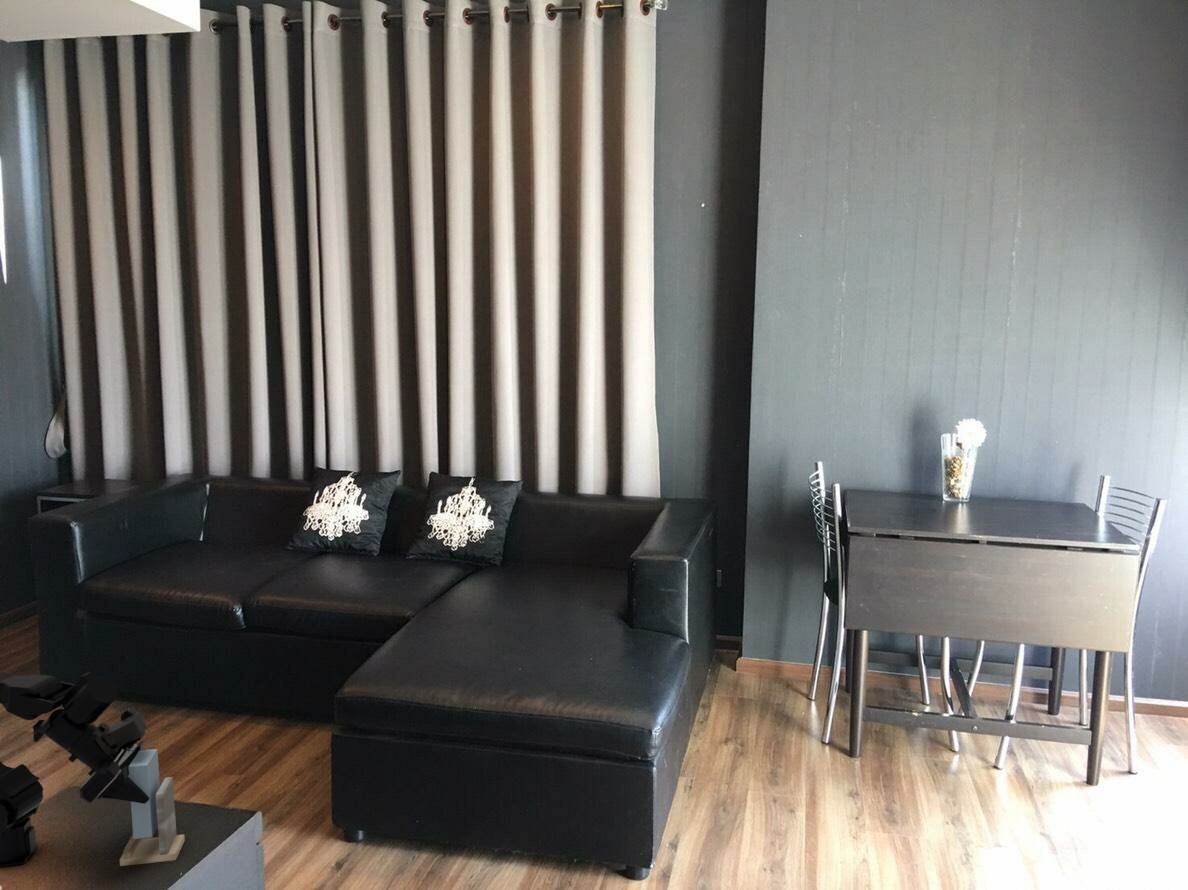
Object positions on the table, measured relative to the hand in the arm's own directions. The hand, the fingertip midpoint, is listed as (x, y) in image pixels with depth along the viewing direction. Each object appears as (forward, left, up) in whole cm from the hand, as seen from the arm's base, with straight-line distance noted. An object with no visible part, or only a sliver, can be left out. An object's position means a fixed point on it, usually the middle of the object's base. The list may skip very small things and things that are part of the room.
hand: (152, 791), depth 165 cm
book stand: (-1, 0, -11) cm, 11 cm away
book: (-1, 0, -7) cm, 7 cm away
